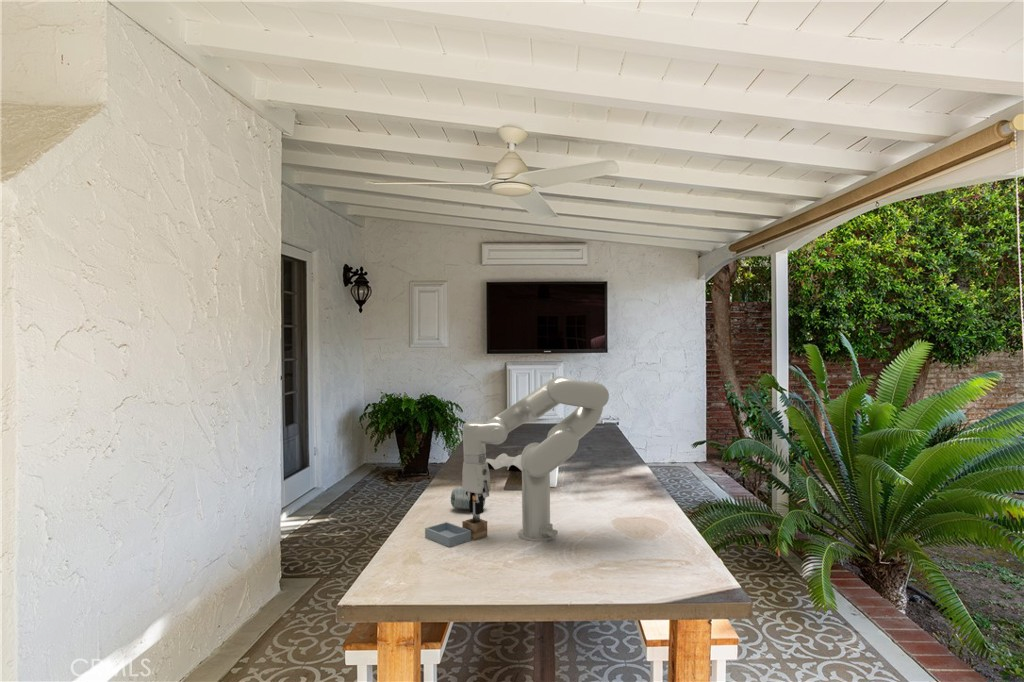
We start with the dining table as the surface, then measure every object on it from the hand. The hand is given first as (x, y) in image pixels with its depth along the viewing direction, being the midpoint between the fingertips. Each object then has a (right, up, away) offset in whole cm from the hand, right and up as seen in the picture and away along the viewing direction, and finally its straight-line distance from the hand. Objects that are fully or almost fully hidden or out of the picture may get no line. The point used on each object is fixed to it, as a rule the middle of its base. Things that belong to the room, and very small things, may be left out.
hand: (476, 512), depth 191 cm
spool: (-7, -8, +29) cm, 31 cm away
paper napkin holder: (+10, -9, +95) cm, 96 cm away
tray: (-9, -8, -2) cm, 13 cm away
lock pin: (0, -4, 0) cm, 4 cm away
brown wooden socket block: (0, -8, 0) cm, 8 cm away
